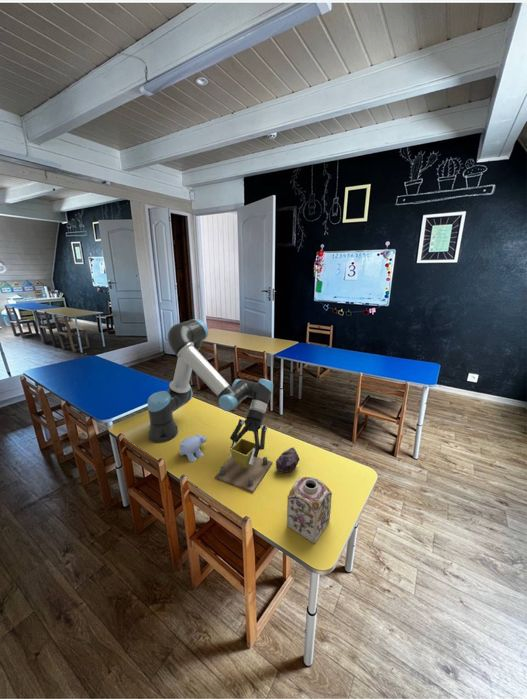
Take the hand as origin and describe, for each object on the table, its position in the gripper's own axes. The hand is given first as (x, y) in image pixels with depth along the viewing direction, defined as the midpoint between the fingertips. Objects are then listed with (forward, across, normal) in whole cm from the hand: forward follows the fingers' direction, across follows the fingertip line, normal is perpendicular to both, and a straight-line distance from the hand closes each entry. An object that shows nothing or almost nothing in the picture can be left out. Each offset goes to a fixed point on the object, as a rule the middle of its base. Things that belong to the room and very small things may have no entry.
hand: (240, 461), depth 122 cm
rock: (-4, -17, -15) cm, 23 cm away
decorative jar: (+13, -34, +1) cm, 36 cm away
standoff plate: (+3, 0, -8) cm, 8 cm away
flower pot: (+1, 0, -5) cm, 5 cm away
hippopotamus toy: (+3, +29, -8) cm, 30 cm away
